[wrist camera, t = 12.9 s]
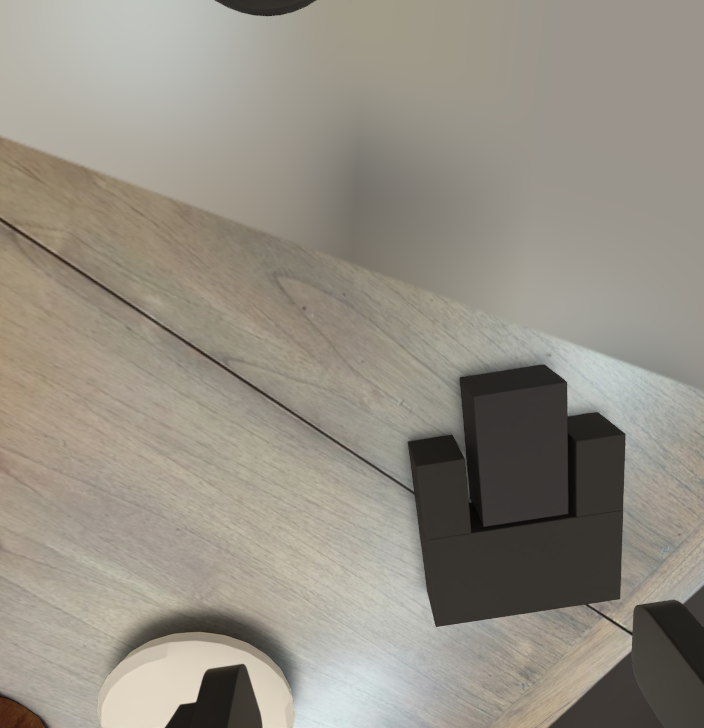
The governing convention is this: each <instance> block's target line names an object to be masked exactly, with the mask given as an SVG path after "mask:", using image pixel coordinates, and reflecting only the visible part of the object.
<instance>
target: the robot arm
mask: <svg viewBox="0 0 704 728" xmlns="http://www.w3.org/2000/svg"><path fill="white" fill-rule="evenodd" d="M632 667H633V671H634V674H635V677H636V680H637V683H638V685H639V687H640V689H641V691H642V693H643V695H644V696H645V698H646V700H647V701H648V703H649V704H650V706H651V707H652V709H653V711H654V712H655V714H656V716H657V717H658V719H659V720H660V722H661V723H662V725H663V727H664V728H704V627H702V626H701V624H700V623H699V622H698V621H697V620H696V619H695V618H694V617H693V615H692V614H691V613H690V612H689V611H688V610H687V609H686V607H685V606H684V605H683V604H681V603H680V602H678V601H676V600H668V601H662V602H655V603H649V604H642V605H637V606H636V607H635V608H634V615H633V636H632ZM165 728H263V727H262V718H261V713H260V710H259V706H258V703H257V700H256V697H255V693H254V690H253V687H252V683H251V680H250V677H249V674H248V670H247V668H246V666H245V664H238V665H231V666H224V667H218V668H211V669H207V670H206V672H205V673H204V676H203V679H202V682H201V686H200V689H199V693H198V697H197V700H196V702H194V703H187V704H180V705H179V707H178V708H177V710H176V711H175V713H174V714H173V716H172V717H171V719H170V721H169V722H168V724H167V725H166V727H165Z"/></svg>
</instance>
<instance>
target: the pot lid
mask: <svg viewBox="0 0 704 728" xmlns="http://www.w3.org/2000/svg"><path fill="white" fill-rule="evenodd" d="M238 664H245V666H246V668H247V670H248V674H249V677H250V680H251V683H252V687H253V690H254V693H255V697H256V700H257V703H258V706H259V710H260V713H261V718H262V727H263V728H292V727H293V723H294V719H295V712H294V704H293V697H292V694H291V690H290V686H289V684H288V682H287V680H286V678H285V676H284V674H283V672H282V670H281V669H280V668H279V667H278V666H277V665H276V664H275V663H274V662H273V661H272V660H271V659H270V658H269V656H268V655H266V654H265V653H263V652H262V651H260V650H258V649H257V648H255V647H253V646H252V645H250V644H248V643H246V642H243V641H240V640H238V639H235V638H232V637H229V636H226V635H221V634H213V633H205V632H189V633H175V634H171V635H167V636H164V637H160V638H157V639H154V640H150V641H149V642H147V643H145V644H143V645H142V646H140V647H138V648H136V649H135V650H133V651H131V652H130V653H129V654H128V655H127V656H126V657H125V658H124V659H123V660H122V661H121V663H120V664H119V665H118V666H117V667H116V668H115V669H114V670H113V671H112V672H111V673H110V674H109V675H108V676H107V678H106V680H105V682H104V684H103V686H102V689H101V691H100V693H99V697H98V712H97V714H98V717H99V720H100V723H101V726H102V728H165V727H166V725H167V724H168V722H169V721H170V719H171V717H172V716H173V714H174V713H175V711H176V710H177V708H178V707H179V705H180V704H187V703H194V702H196V700H197V697H198V693H199V689H200V686H201V682H202V679H203V676H204V673H205V672H206V670H207V669H211V668H218V667H224V666H231V665H238Z"/></svg>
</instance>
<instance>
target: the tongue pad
mask: <svg viewBox="0 0 704 728" xmlns="http://www.w3.org/2000/svg"><path fill="white" fill-rule="evenodd" d="M460 386H461V398H462V409H463V421H464V432H465V444H466V455H467V467H468V478H469V490H470V499H471V501H472V503H473V505H474V507H475V509H476V511H477V514H478V516H479V518H480V520H481V522H482V524H483V526H484V527H486V526H492V525H499V524H505V523H512V522H518V521H525V520H531V519H538V518H544V517H551V516H557V515H564V514H568V427H567V382H566V381H565V380H564V379H562V378H561V377H560V376H559V375H557V374H556V373H555V372H553V371H552V370H551V369H549V368H548V367H547V366H546V365H538V366H532V367H526V368H519V369H513V370H506V371H500V372H494V373H487V374H481V375H475V376H468V377H462V378H460Z"/></svg>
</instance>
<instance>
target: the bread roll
mask: <svg viewBox="0 0 704 728" xmlns="http://www.w3.org/2000/svg"><path fill="white" fill-rule="evenodd" d="M0 728H45V727H44V725H43V723H42V722H41V720H40V719H39V717H38V716H37V715H35V714H34V713H32V712H31V711H29V710H27V709H26V708H25V707H23V706H21V705H20V704H18V703H16V702H14V701H12V700H10V699H6V698H2V697H0Z"/></svg>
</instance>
